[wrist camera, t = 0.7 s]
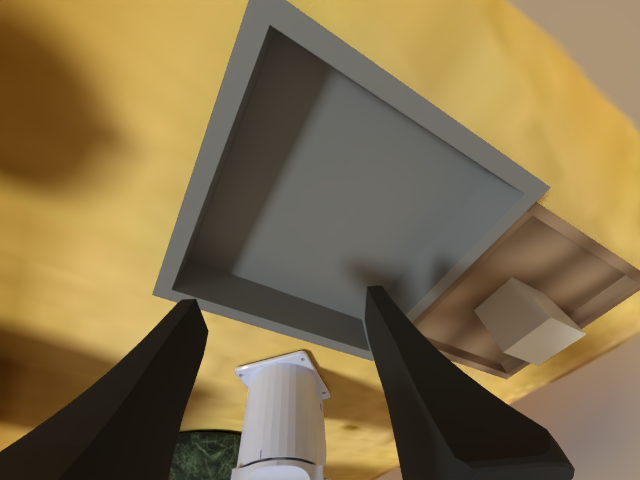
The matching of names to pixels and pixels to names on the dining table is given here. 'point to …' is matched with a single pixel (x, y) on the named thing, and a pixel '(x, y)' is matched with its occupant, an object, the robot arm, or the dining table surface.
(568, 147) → the dining table surface
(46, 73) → the dining table surface
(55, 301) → the dining table surface
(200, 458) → the goblet
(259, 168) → the bin
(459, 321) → the tray
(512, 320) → the block
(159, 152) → the dining table surface
